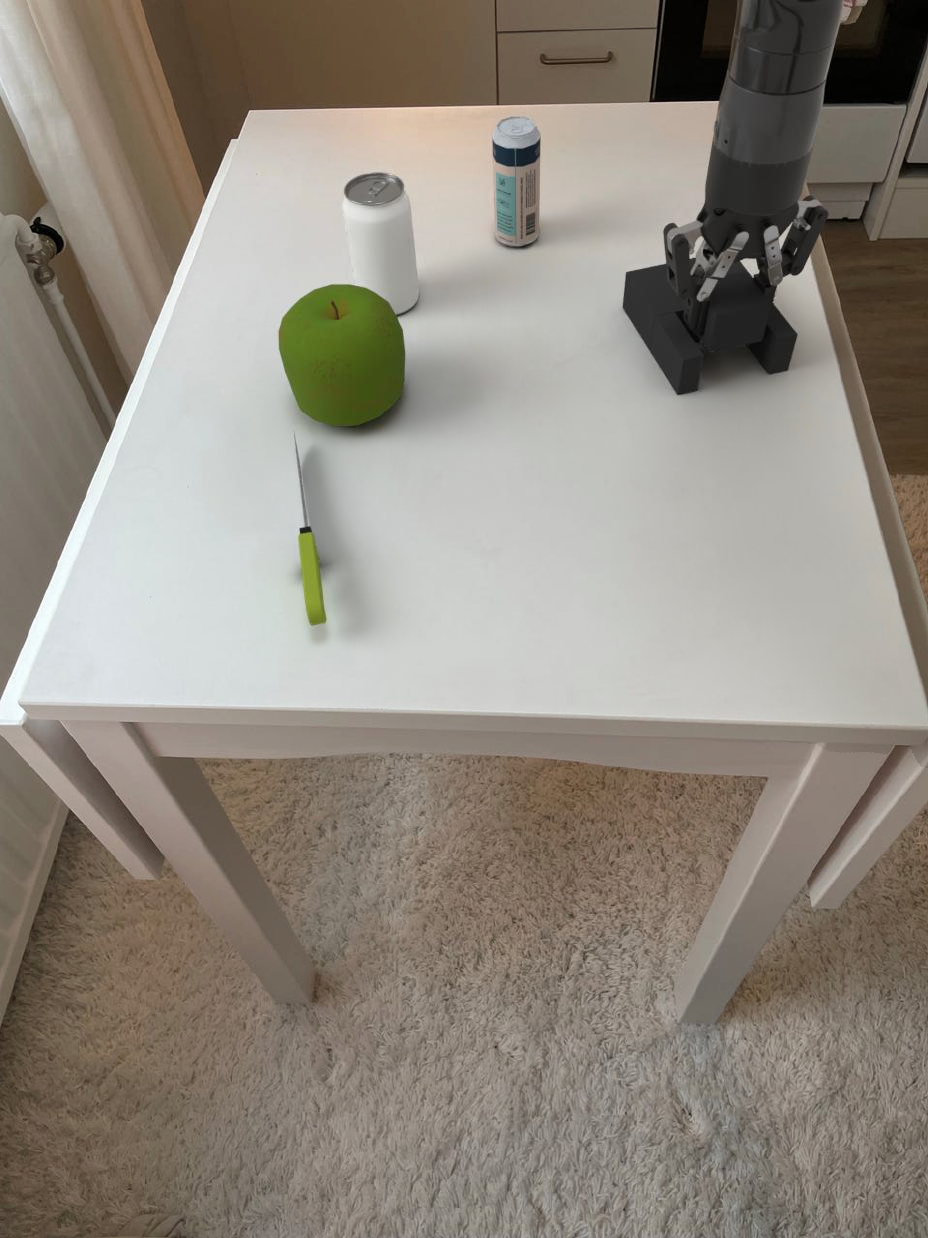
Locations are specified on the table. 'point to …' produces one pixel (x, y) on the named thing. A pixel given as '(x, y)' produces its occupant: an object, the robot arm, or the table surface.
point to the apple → (343, 354)
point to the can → (381, 238)
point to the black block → (735, 313)
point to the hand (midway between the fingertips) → (725, 321)
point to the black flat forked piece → (674, 341)
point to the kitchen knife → (310, 565)
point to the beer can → (516, 180)
